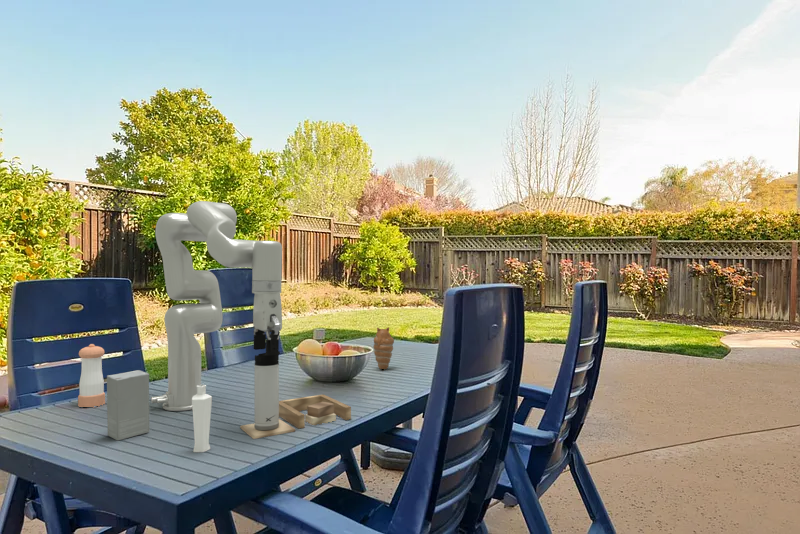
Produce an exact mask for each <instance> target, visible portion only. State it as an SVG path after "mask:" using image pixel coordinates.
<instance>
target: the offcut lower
mask: <svg viewBox="0 0 800 534" xmlns="http://www.w3.org/2000/svg"><path fill="white" fill-rule="evenodd" d="M304 415H305V423H307V422H308V423H307V424H309V425H311V426H312V425H314V426H317V424H319V425H323V424H322V423H325V424H329V423H328V422H330V423H333V422H332V421H336V422H337V415H336V414H334V413H332V414H329V415H326V416H323V417H320V418H317V417H313V416H309V415H307V413H306V414H305V413H304Z"/></svg>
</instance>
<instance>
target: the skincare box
mask: <svg viewBox="0 0 800 534" xmlns="http://www.w3.org/2000/svg"><path fill="white" fill-rule="evenodd" d="M106 403H107V404H106V407H107V408H106V409H107V410H106V411H107V413H106V415H107V436H108V437H110V438H112V439H114V440H115V441H122V440H126V439H129V438H132V437H136V436H140V435H144V434H148V433H150V374H149V373H148V372H145V371H143V370H140V369H137V370H133V371H127V372H120V373H116V374H110V375H109V374H108V375H106Z"/></svg>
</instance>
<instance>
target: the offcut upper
mask: <svg viewBox="0 0 800 534" xmlns="http://www.w3.org/2000/svg"><path fill="white" fill-rule="evenodd" d="M306 412H307V413H306V414H307V415H309V416H313V417H317V418H320V417H323V416H326V415H329V414H332V413H334V404H332V403H327V402H320V403H317V404H313V405H310V406H307V410H306Z"/></svg>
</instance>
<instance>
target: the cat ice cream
mask: <svg viewBox="0 0 800 534" xmlns="http://www.w3.org/2000/svg"><path fill="white" fill-rule="evenodd" d="M394 343H395V339H394V338H393V337H392V335H391V334H390V327H389V326H388V327H387V328H379V327H376V334H375V337H374V339H373V347H372V349H374V351H373V354H374V356H375V361H376V363H377V367H378V368H379V369H380V370H381V369H385V370H386V369H388V368H389V364H390V362H391V358H392V356H393V353H392V352H393V350H394V347H393V344H394Z"/></svg>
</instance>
